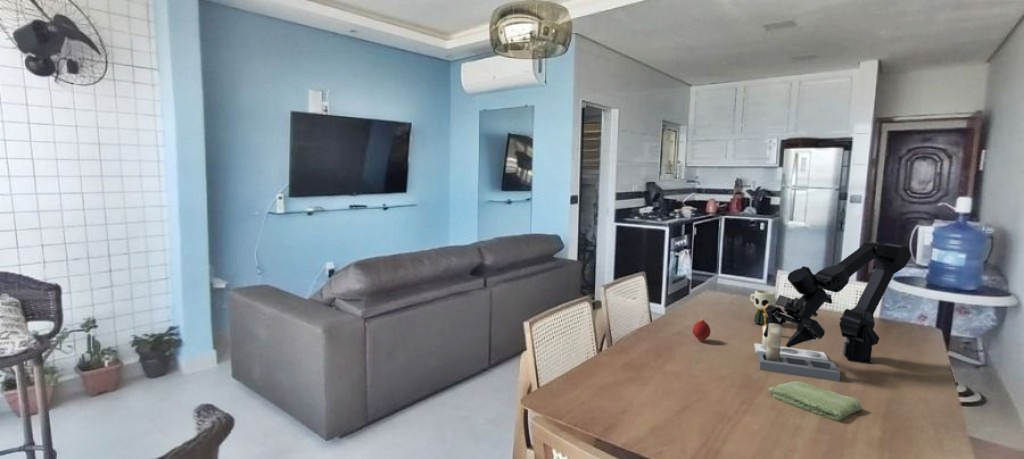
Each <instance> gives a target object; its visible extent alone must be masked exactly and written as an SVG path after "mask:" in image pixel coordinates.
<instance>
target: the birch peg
mask: <svg viewBox="0 0 1024 459" xmlns="http://www.w3.org/2000/svg"><path fill="white" fill-rule="evenodd" d="M782 325H783V324H782ZM782 325H780V324H775V323H770V324H769V326H768V339H767V352H766V360H768V361H775V362H779V358H780V347H781V346H782V345H781V344H782V331H783V330H782V329H783V326H782Z"/></svg>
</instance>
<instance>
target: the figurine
mask: <svg viewBox="0 0 1024 459" xmlns="http://www.w3.org/2000/svg"><path fill="white" fill-rule="evenodd" d="M768 305H769V304H766V306H764V307H761V308H757V307H756V310H757V311H756V310H755V314H757V312H758V310H759V309H763V310H764V312H765V313H763V316H764V318H765V319H764V323H765V325H762V327H761V331H762V333H763V327H764V326H767V324H766V317H767V316H768V315H767V314H766V311H765V309H766V308H767V306H768ZM755 314H754V315H755Z"/></svg>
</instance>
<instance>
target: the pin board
mask: <svg viewBox="0 0 1024 459" xmlns="http://www.w3.org/2000/svg"><path fill="white" fill-rule="evenodd" d="M756 358H757V364H758V367H759V370H761V371H769V372H774V373H781V374H786V375H787V374H788V375H794V376H801V377H807V378H809V377H810V378H816V379H820V380H829V381H834V382H835V381H836V382H840V378H841V372H840V370H839V368H838V367H837V365H836V364H835V362H834V361H830V360H829V361H824V360H816V359H809V358H802V357H794V356H787V355H780V358H779V362H775V361H768V360H766V353H765V352H758V354H757V357H756Z"/></svg>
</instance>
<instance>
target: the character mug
mask: <svg viewBox="0 0 1024 459" xmlns="http://www.w3.org/2000/svg"><path fill="white" fill-rule="evenodd" d="M777 299H778V298H776V293H775V292H774V291H771V290H767V289H756V290H755V291H754V293H751V294H750V299H749V300H750V302H751V303H753V305H754V307H755V308H756V310H755V312H756V311H757V308H761V307H764V306H766V304H769V305H774V306H777V307H779V306H780V305H776V304H775V303H776V301H777ZM779 308H780V307H779ZM763 313H765V312H764V310H763V309H759V310H758V312H757V314H754V319H753V322H754V323H755V324H757V325H758V324H759V325H762V326H763V325H765V323H764V319H765V318H764V316H763ZM768 319H769V318H768V316H767V317H766V324H768Z"/></svg>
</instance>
